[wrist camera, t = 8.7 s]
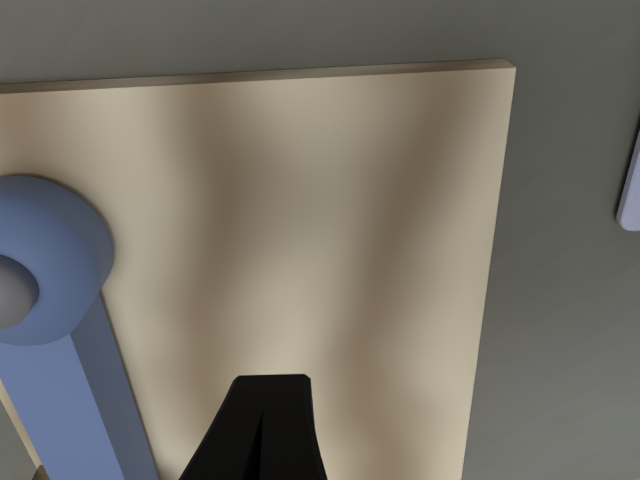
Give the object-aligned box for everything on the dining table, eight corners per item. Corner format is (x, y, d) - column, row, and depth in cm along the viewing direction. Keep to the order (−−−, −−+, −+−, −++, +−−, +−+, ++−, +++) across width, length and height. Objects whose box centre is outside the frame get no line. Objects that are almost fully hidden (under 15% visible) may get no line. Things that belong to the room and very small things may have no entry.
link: (-62, 178, 17) (-138, 228, 14) (91, 173, 17) (45, 222, 14) (86, 504, 26) (57, 573, 23) (187, 503, 26) (170, 573, 23)
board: (504, 58, 16) (516, 67, 15) (454, 470, 26) (459, 493, 25) (-127, 91, 17) (-157, 101, 16) (63, 477, 27) (53, 499, 26)
